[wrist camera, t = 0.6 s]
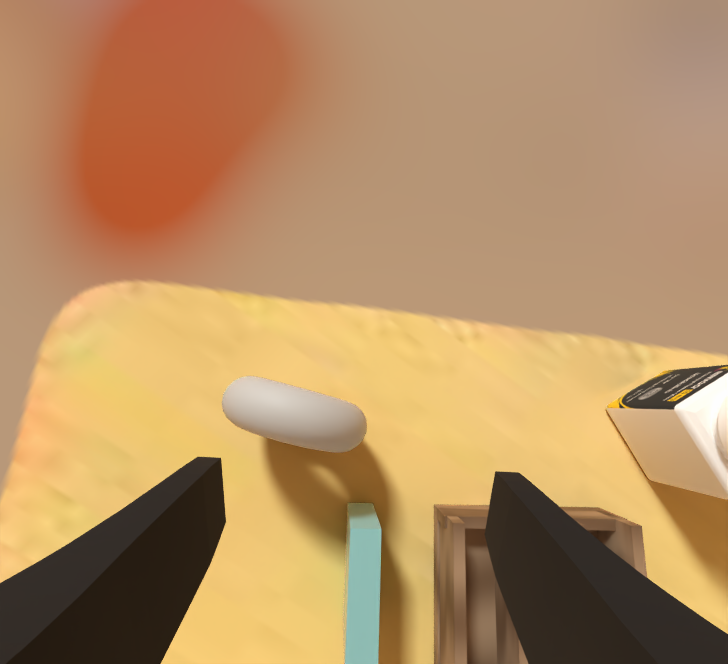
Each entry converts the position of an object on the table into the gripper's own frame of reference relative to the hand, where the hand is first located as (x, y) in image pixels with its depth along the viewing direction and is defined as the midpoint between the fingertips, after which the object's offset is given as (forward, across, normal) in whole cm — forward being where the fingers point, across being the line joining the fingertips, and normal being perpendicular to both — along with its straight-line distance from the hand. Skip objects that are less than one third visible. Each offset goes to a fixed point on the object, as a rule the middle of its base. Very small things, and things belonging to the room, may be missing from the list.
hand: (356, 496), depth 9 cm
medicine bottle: (+21, -26, +9) cm, 35 cm away
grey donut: (+19, +5, +8) cm, 21 cm away
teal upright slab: (+14, 0, +18) cm, 23 cm away
